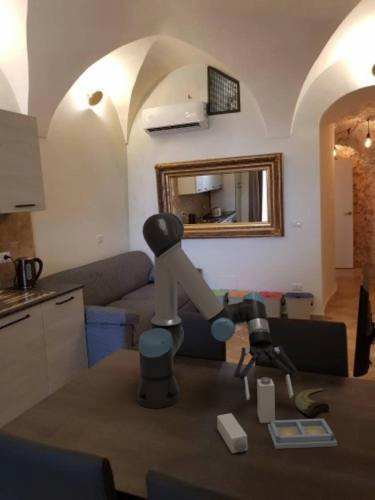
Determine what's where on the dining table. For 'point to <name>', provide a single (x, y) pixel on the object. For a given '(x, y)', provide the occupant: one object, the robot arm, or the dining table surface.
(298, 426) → the tray
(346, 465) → the dining table surface
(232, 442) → the white rectangular block
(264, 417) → the white square bottle
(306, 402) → the claw
